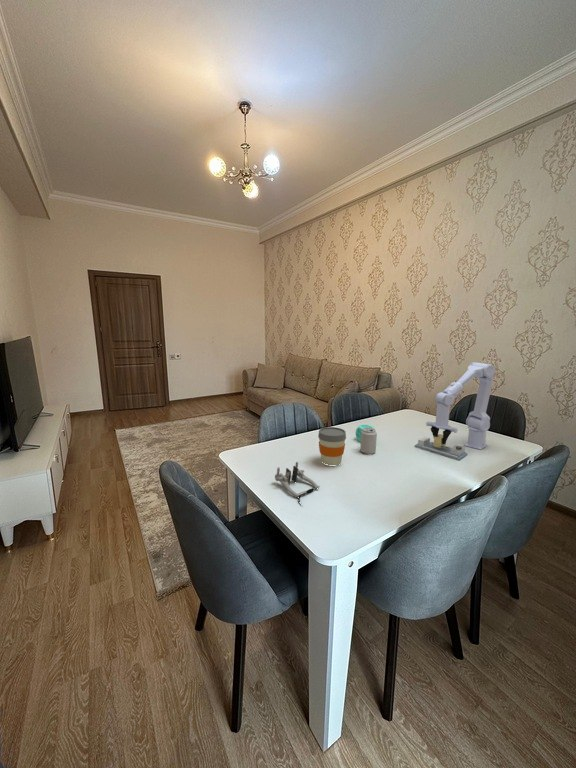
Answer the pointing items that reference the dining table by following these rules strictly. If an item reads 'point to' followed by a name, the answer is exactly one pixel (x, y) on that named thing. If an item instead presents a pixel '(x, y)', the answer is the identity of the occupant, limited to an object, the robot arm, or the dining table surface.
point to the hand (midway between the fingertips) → (439, 442)
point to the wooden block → (438, 441)
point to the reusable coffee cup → (331, 445)
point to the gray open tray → (437, 449)
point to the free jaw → (457, 450)
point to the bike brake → (286, 480)
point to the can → (368, 440)
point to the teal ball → (360, 428)
